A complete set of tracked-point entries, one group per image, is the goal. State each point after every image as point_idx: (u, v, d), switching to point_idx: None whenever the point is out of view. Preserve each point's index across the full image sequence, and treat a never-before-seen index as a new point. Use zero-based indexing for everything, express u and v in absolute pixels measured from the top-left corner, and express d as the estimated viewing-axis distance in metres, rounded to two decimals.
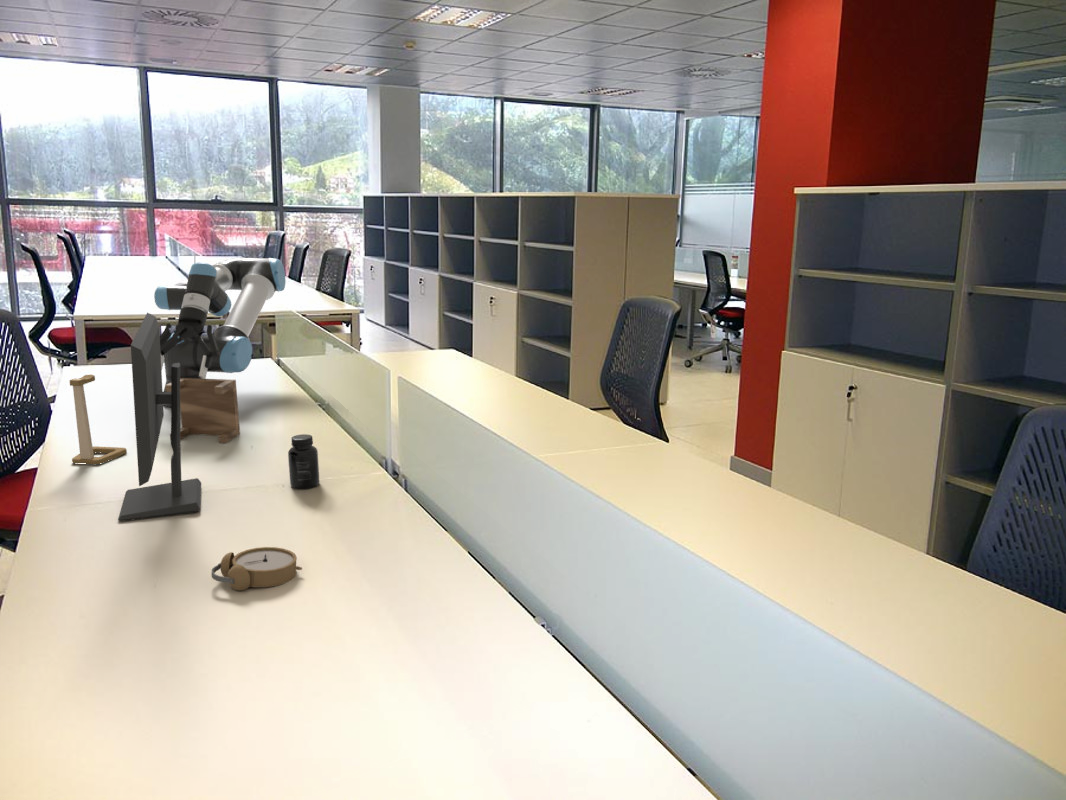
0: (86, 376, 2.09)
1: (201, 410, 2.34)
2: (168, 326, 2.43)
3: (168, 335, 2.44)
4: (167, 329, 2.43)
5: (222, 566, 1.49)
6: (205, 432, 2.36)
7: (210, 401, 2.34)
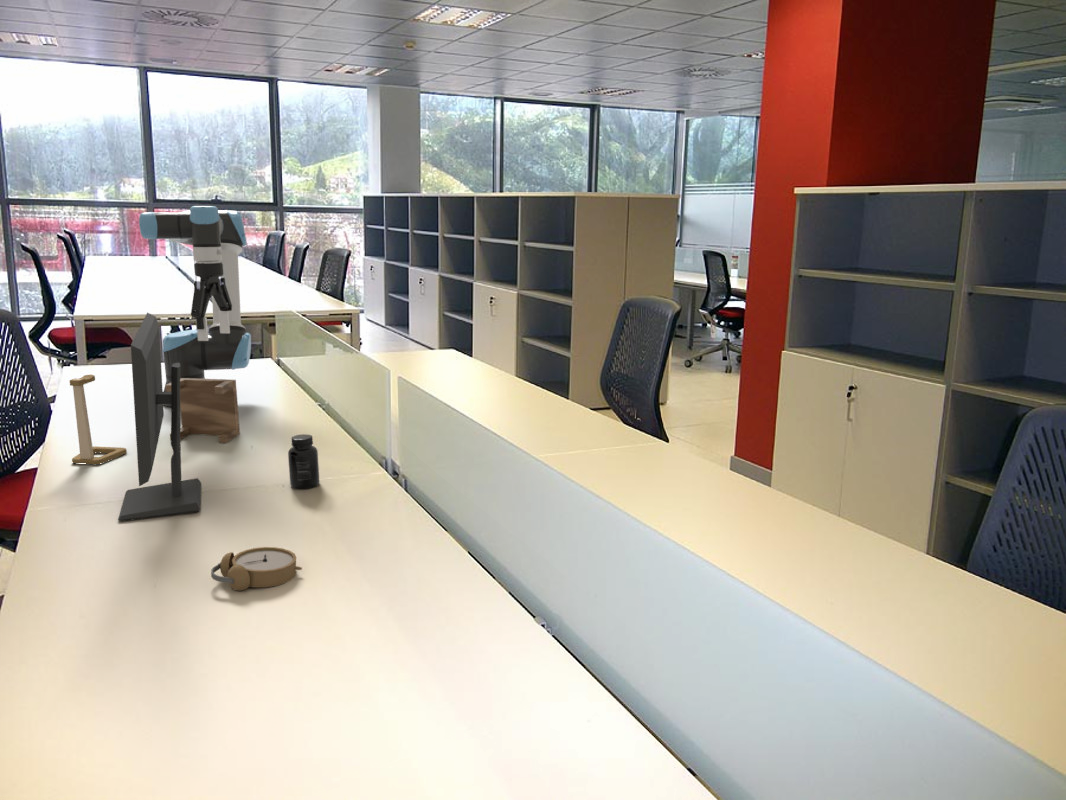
0: (86, 376, 2.09)
1: (201, 410, 2.34)
2: (204, 285, 2.28)
3: None
4: (204, 288, 2.28)
5: (221, 566, 1.49)
6: (205, 432, 2.36)
7: (210, 401, 2.34)
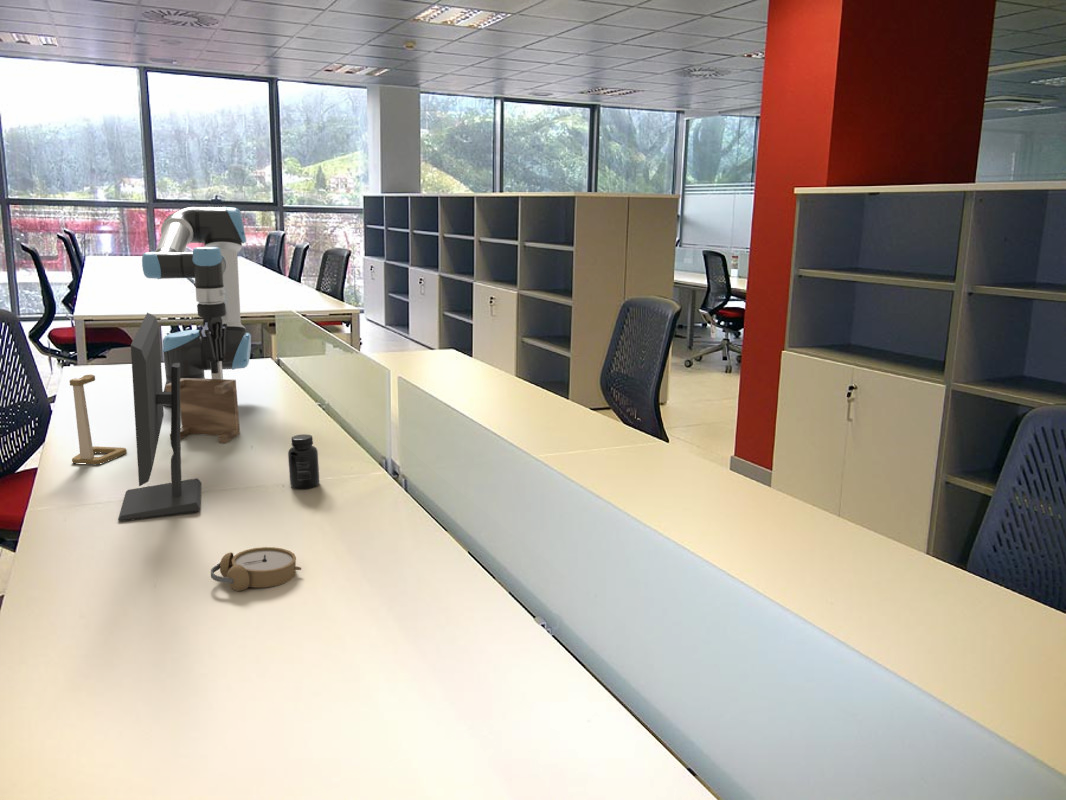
0: (86, 376, 2.09)
1: (201, 410, 2.34)
2: (208, 332, 2.31)
3: None
4: (209, 335, 2.32)
5: (221, 566, 1.49)
6: (205, 432, 2.36)
7: (210, 401, 2.34)
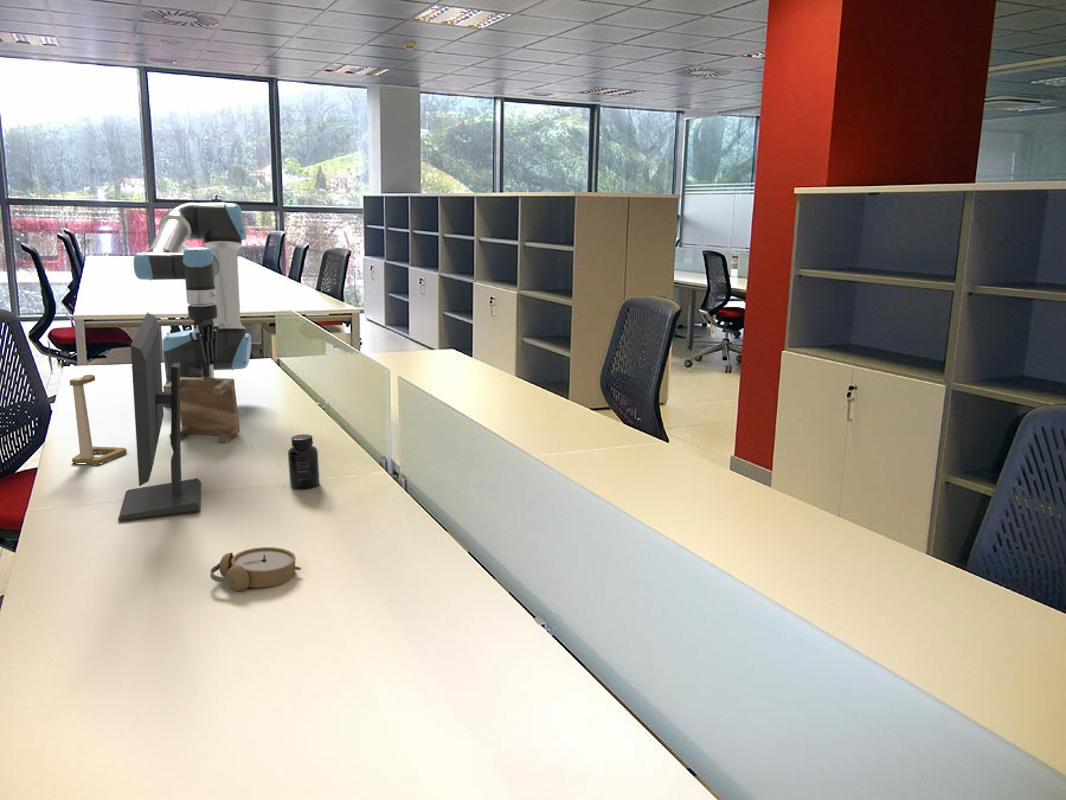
0: (86, 376, 2.09)
1: (200, 409, 2.34)
2: (199, 335, 2.25)
3: None
4: (200, 337, 2.26)
5: (221, 566, 1.48)
6: (205, 431, 2.36)
7: (209, 400, 2.33)
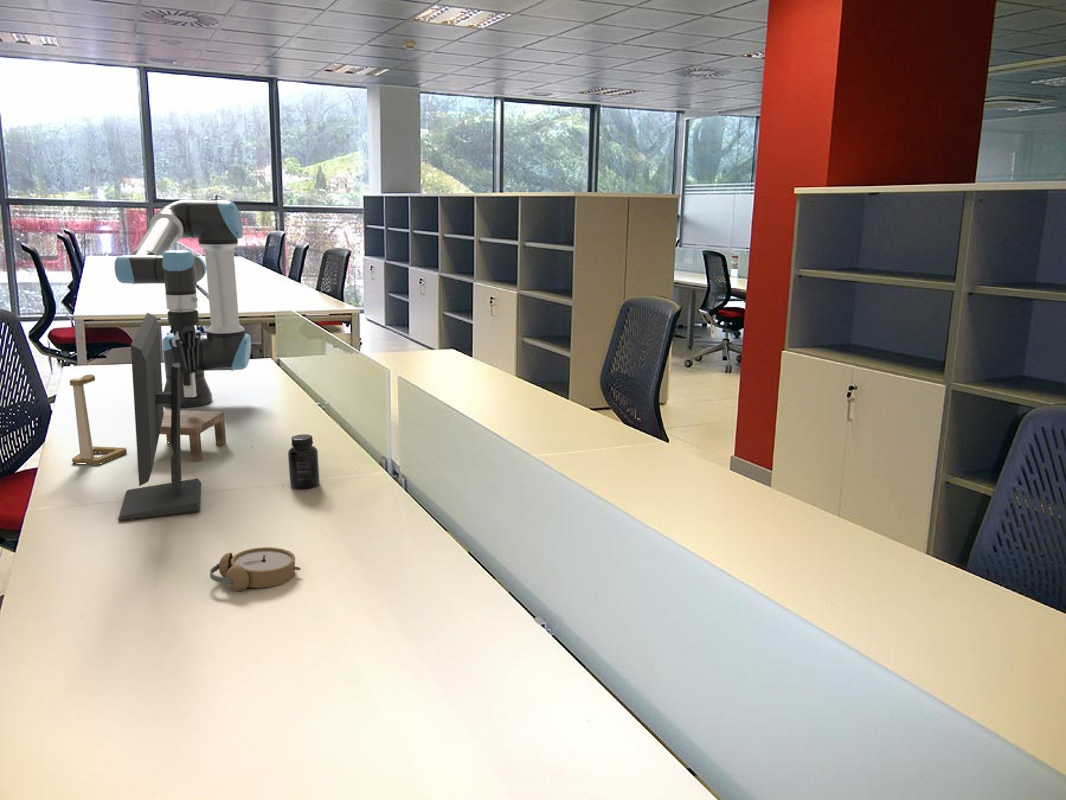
0: (86, 376, 2.09)
1: None
2: (179, 342, 2.15)
3: None
4: (181, 345, 2.16)
5: (220, 566, 1.48)
6: None
7: None
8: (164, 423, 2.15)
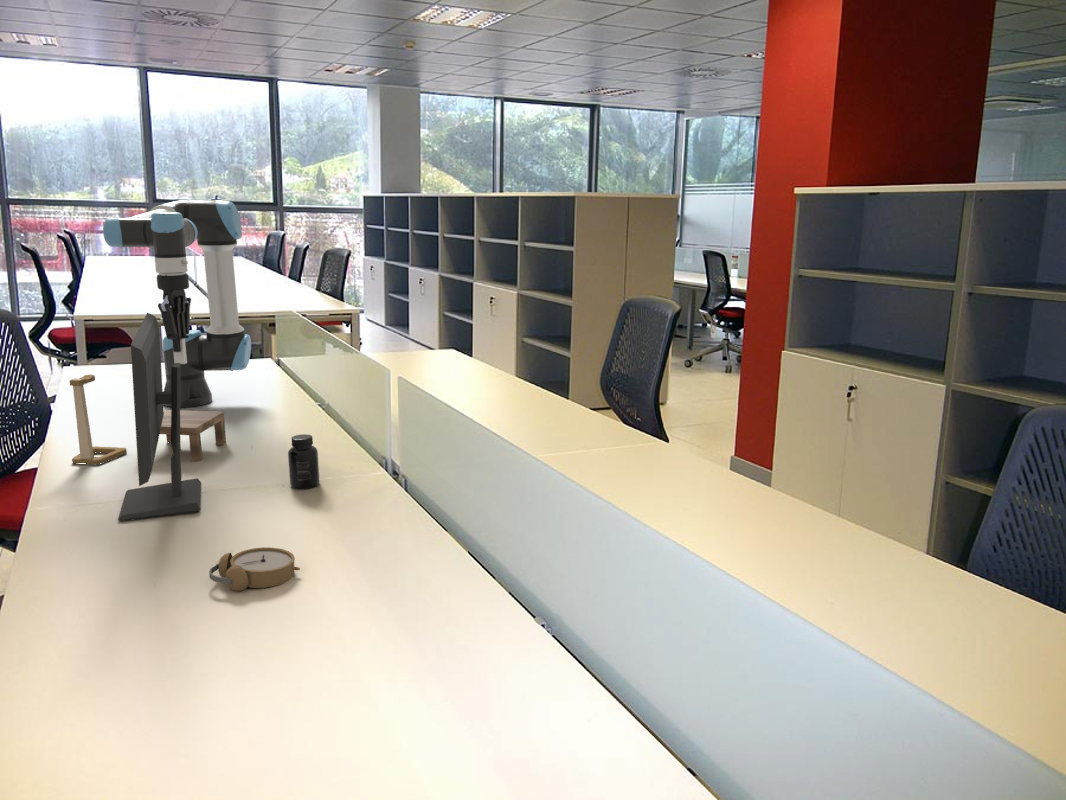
0: (86, 376, 2.09)
1: None
2: (169, 306, 2.09)
3: None
4: (170, 309, 2.10)
5: (219, 566, 1.48)
6: None
7: None
8: (164, 423, 2.15)
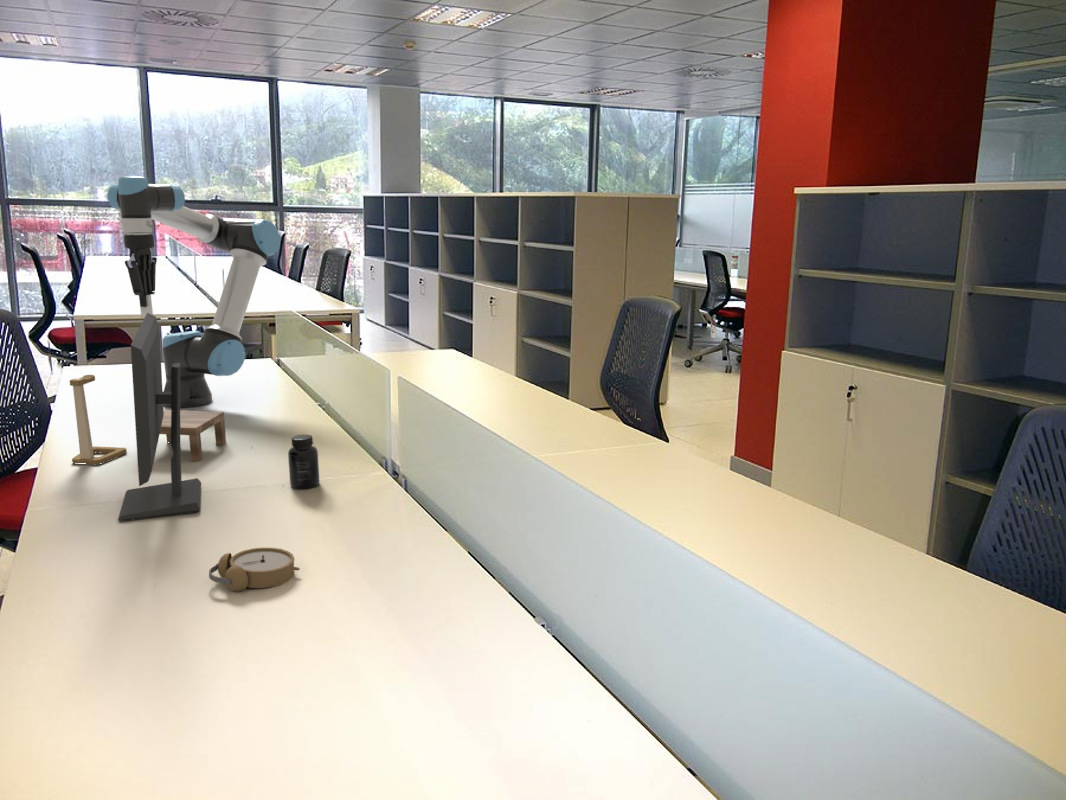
0: (86, 376, 2.09)
1: None
2: (135, 263, 2.27)
3: None
4: (136, 266, 2.27)
5: (219, 566, 1.48)
6: None
7: None
8: (164, 423, 2.15)
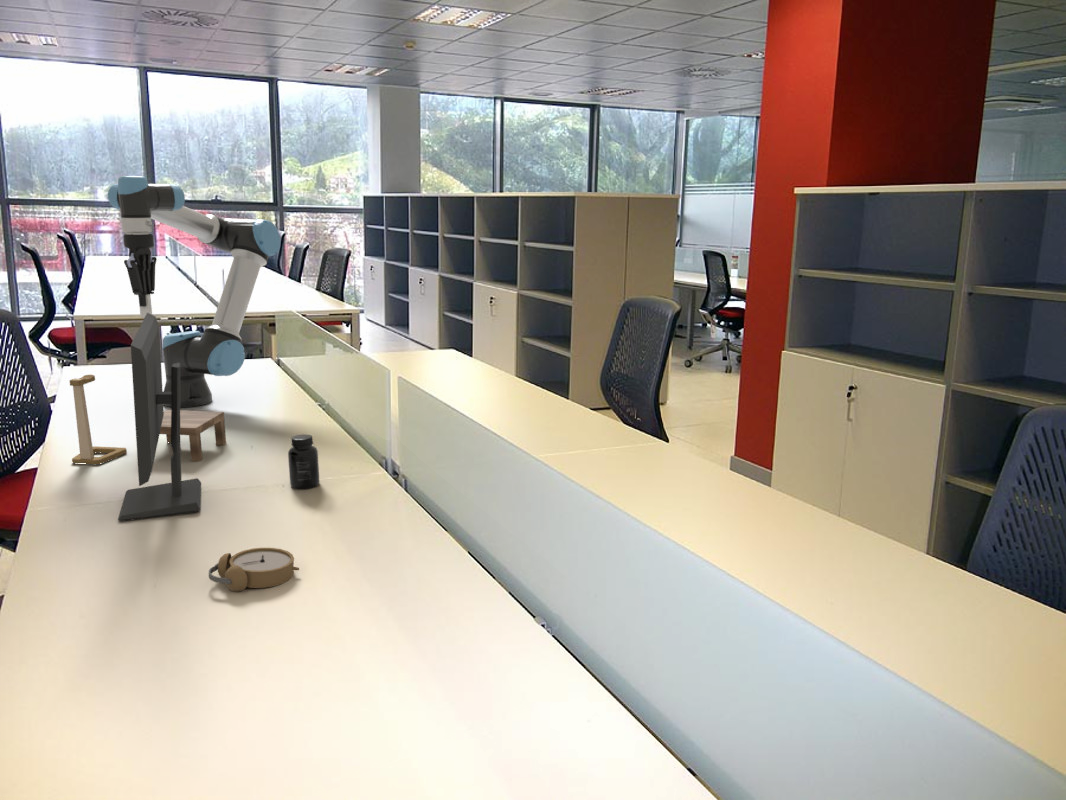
0: (86, 376, 2.09)
1: None
2: (134, 263, 2.27)
3: None
4: (136, 265, 2.27)
5: (219, 566, 1.48)
6: None
7: None
8: (164, 423, 2.15)
